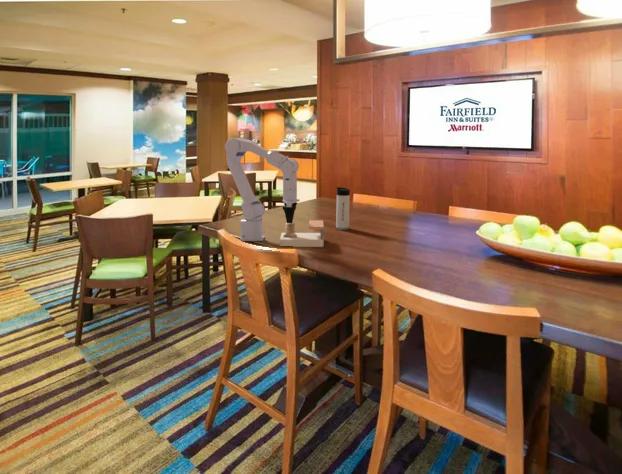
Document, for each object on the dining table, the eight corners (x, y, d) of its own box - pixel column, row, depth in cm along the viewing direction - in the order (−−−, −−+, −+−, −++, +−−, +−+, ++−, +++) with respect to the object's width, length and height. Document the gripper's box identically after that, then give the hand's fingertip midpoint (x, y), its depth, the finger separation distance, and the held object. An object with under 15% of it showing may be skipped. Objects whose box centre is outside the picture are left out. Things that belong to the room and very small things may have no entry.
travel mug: (340, 226, 213) (341, 186, 208) (351, 228, 209) (352, 187, 204) (332, 228, 209) (333, 187, 204) (344, 230, 205) (345, 189, 200)
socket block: (279, 246, 176) (279, 226, 173) (281, 239, 188) (281, 220, 186) (323, 247, 175) (323, 226, 173) (322, 239, 188) (322, 220, 186)
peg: (285, 243, 180) (285, 224, 178) (285, 240, 184) (285, 222, 182) (294, 243, 180) (294, 224, 178) (295, 240, 184) (295, 222, 182)
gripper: (299, 191, 169) (299, 224, 173) (300, 186, 183) (300, 217, 187) (281, 191, 169) (281, 224, 173) (283, 186, 183) (283, 217, 187)
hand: (290, 221), depth 180 cm, fingers open, 7 cm apart
